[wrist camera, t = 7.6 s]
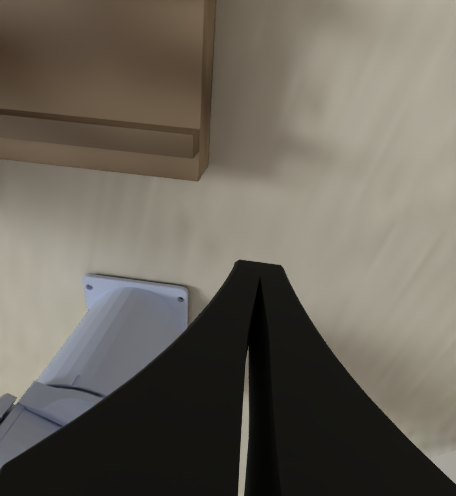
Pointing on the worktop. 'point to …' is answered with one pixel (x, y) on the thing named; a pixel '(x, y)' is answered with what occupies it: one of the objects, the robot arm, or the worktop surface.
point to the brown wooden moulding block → (108, 84)
